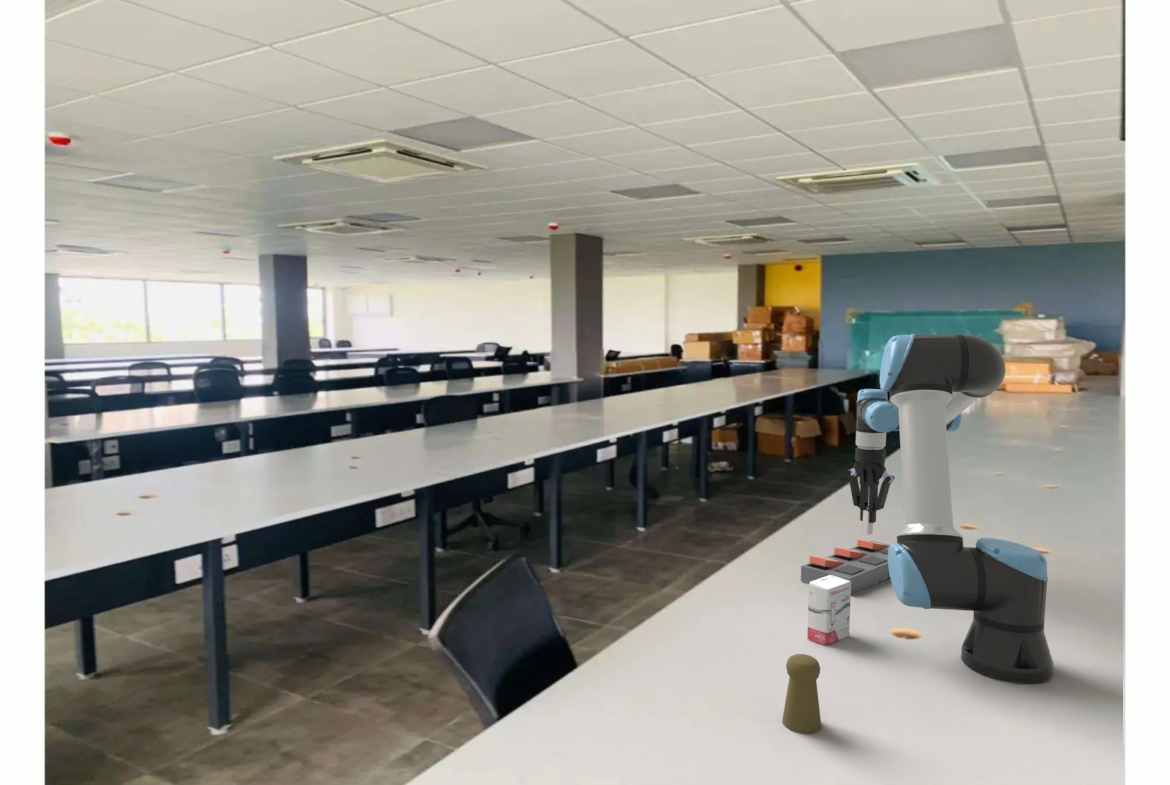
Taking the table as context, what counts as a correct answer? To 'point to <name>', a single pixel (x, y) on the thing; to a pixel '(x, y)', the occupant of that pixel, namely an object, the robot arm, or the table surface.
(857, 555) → the rocker
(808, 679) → the olive brown peg figure
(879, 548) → the rocker
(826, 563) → the rocker
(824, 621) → the ink box
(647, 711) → the table surface
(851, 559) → the power strip
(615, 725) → the table surface
